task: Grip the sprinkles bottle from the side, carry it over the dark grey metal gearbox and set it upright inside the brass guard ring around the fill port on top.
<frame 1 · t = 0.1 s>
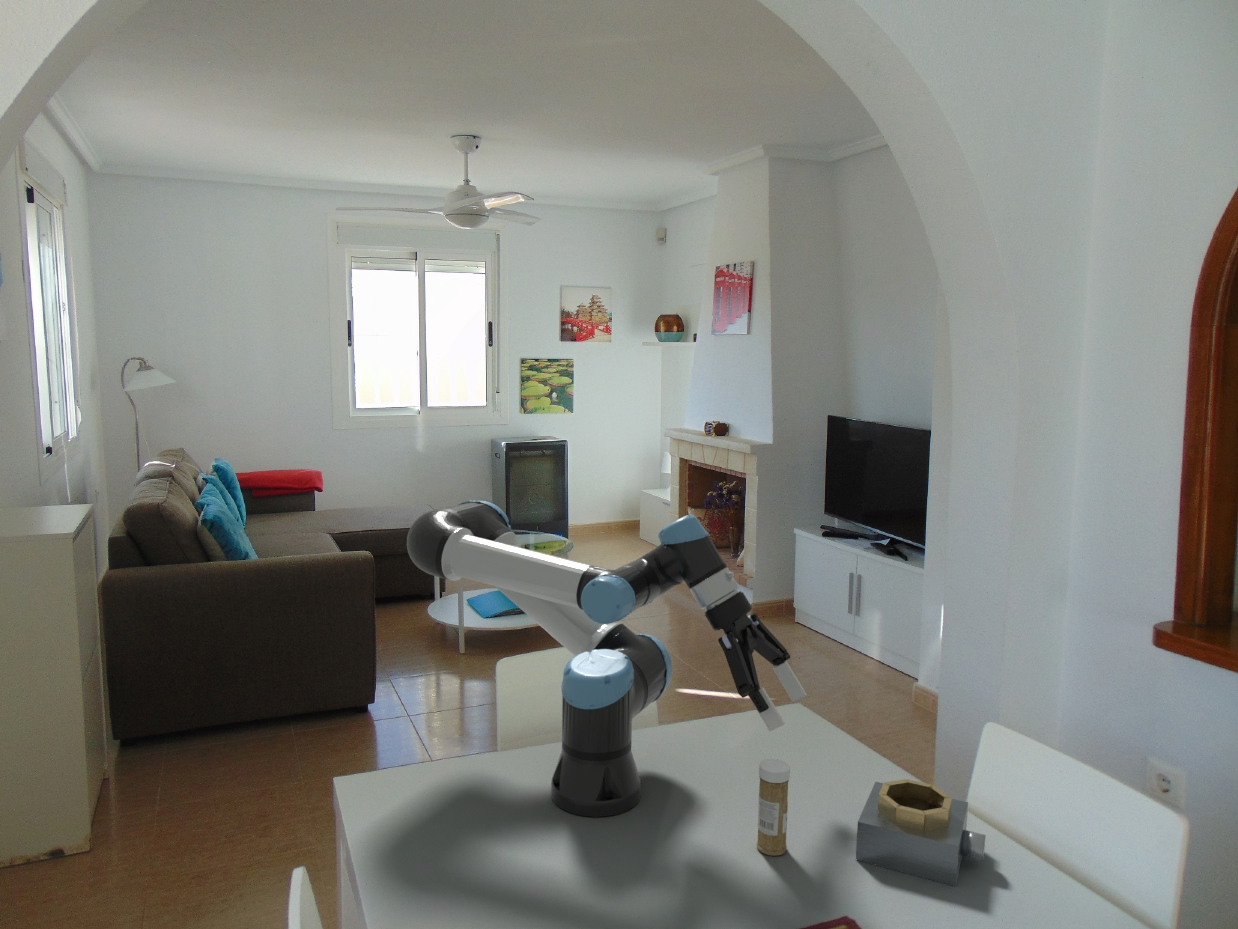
hand: (789, 712, 147), 15 cm above the table, tool tilted 35°, fingers open, 13 cm apart
sprinkles bottle: (771, 849, 134), on the table
gearbox: (911, 849, 134), on the table
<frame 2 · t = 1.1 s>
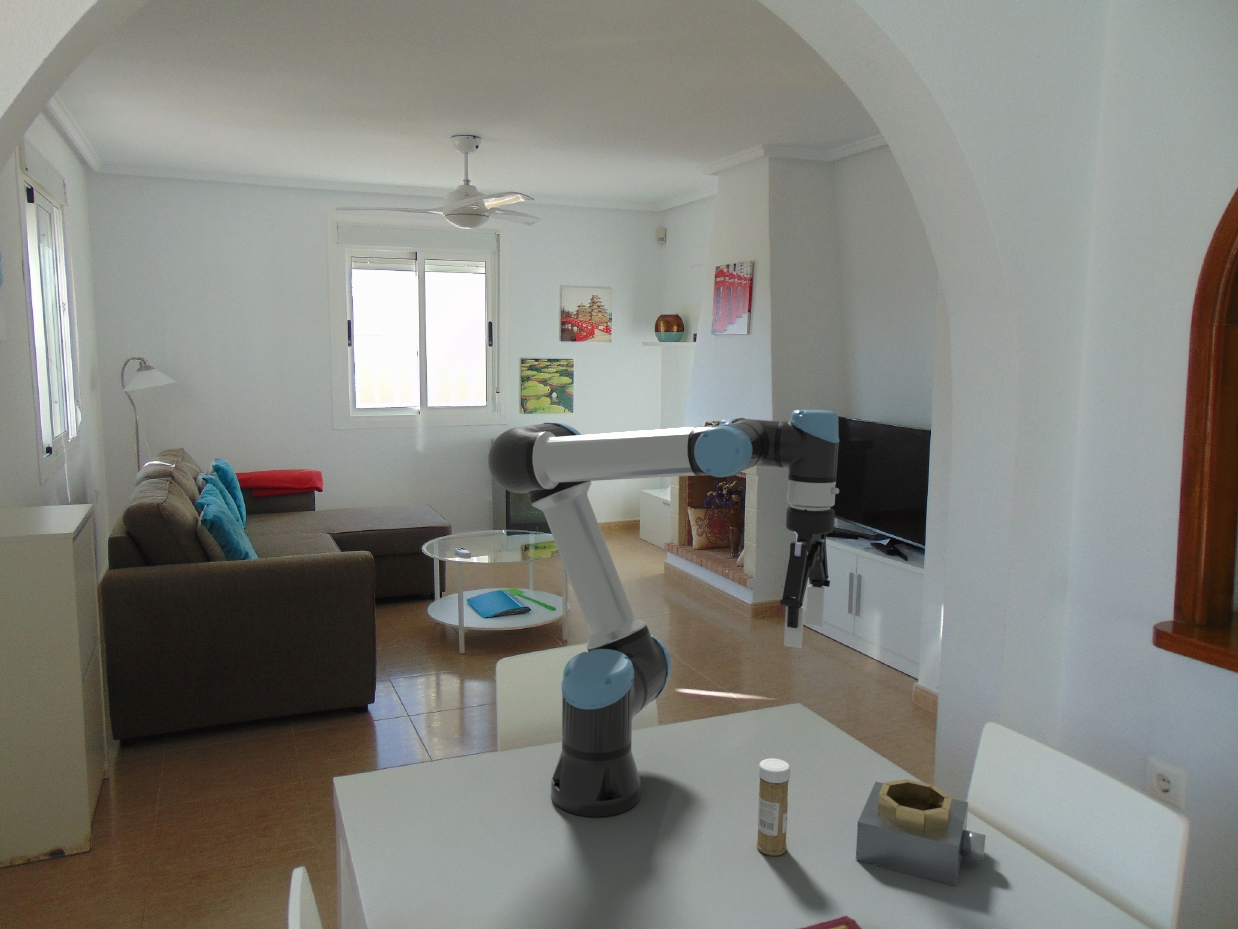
hand: (803, 635, 145), 29 cm above the table, tool pointing down, fingers open, 13 cm apart
nothing on the table moved.
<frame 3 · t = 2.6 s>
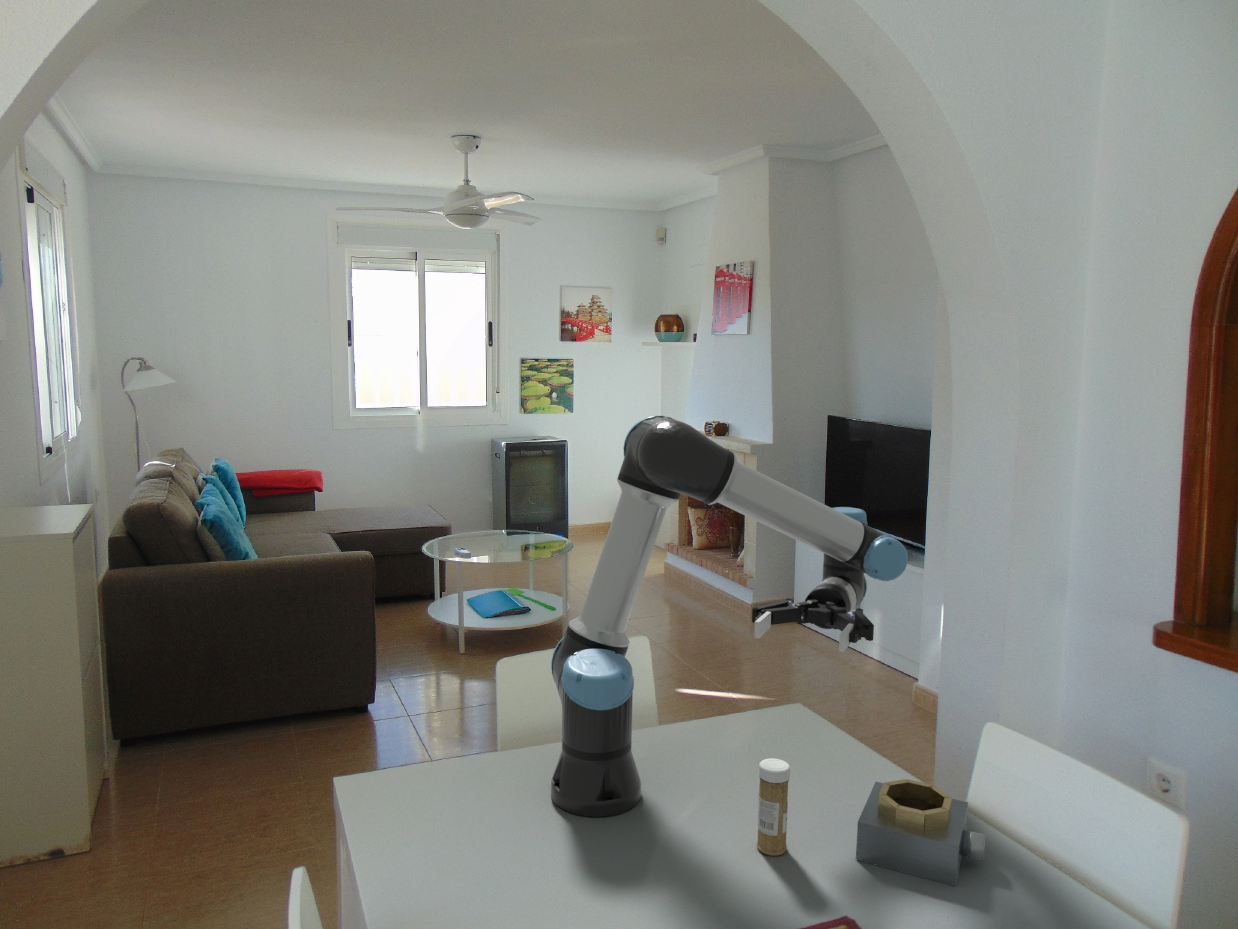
hand: (798, 636, 139), 30 cm above the table, tool horizontal, fingers open, 13 cm apart
nothing on the table moved.
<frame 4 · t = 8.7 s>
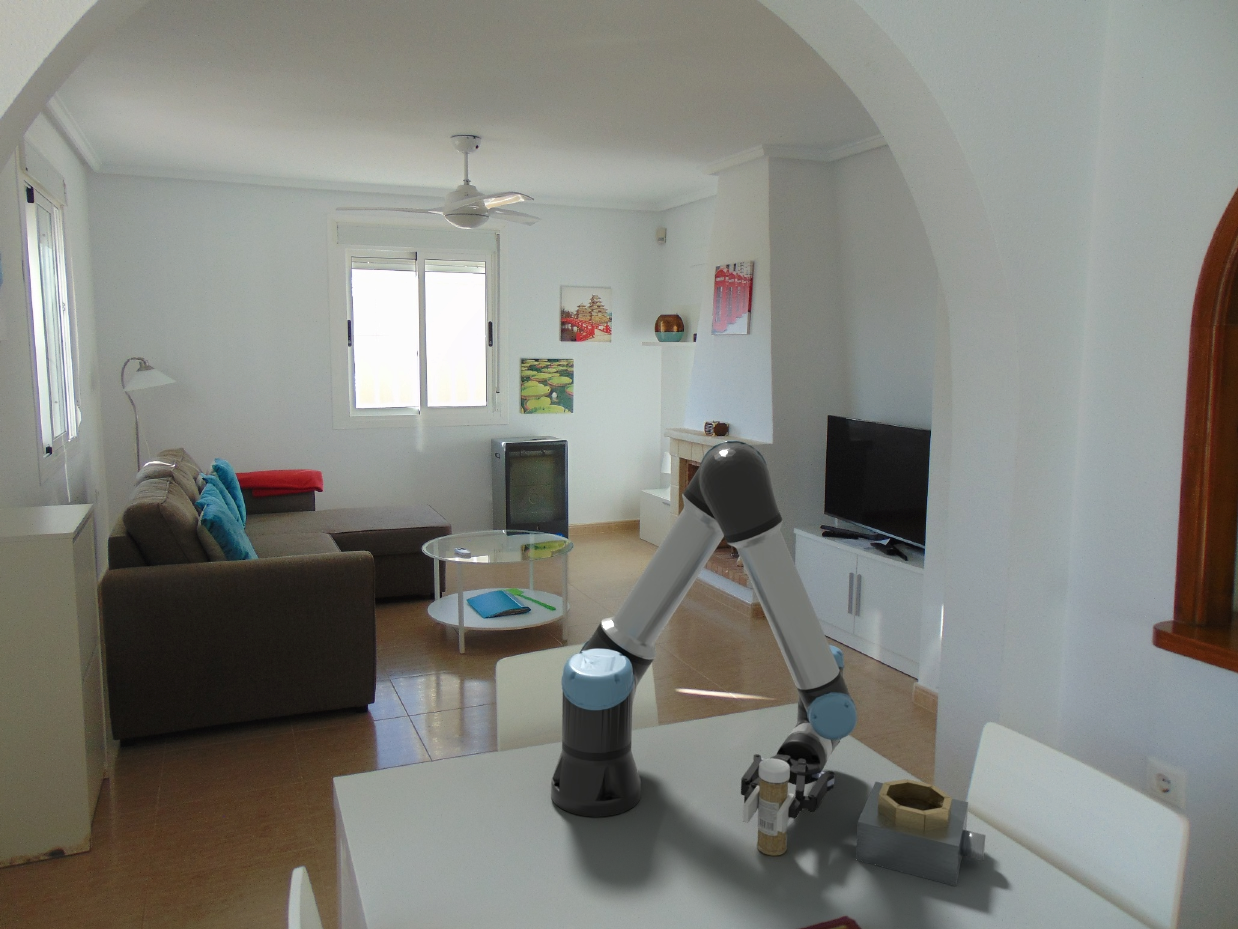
hand: (762, 818, 128), 8 cm above the table, tool horizontal, fingers closed on sprinkles bottle, 4 cm apart
sprinkles bottle: (771, 849, 134), on the table, touching gripper
when the fingers open (15 cm above the table, at t = 14.1 s): sprinkles bottle drops 1 cm, resting on gearbox.
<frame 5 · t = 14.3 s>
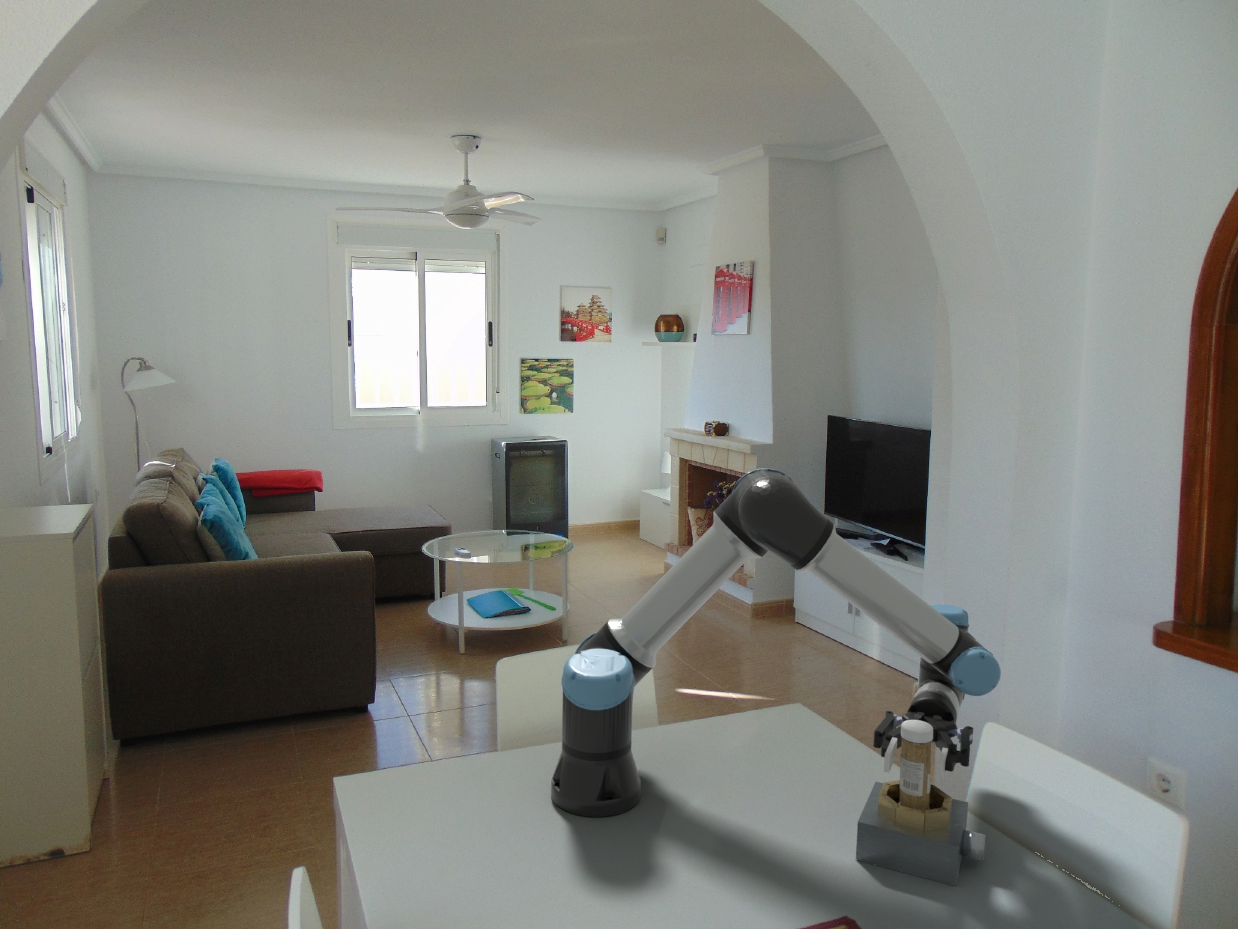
hand: (912, 768, 128), 15 cm above the table, tool horizontal, fingers open, 7 cm apart
sprinkles bottle: (913, 811, 134), point 6 cm above the table, touching gearbox
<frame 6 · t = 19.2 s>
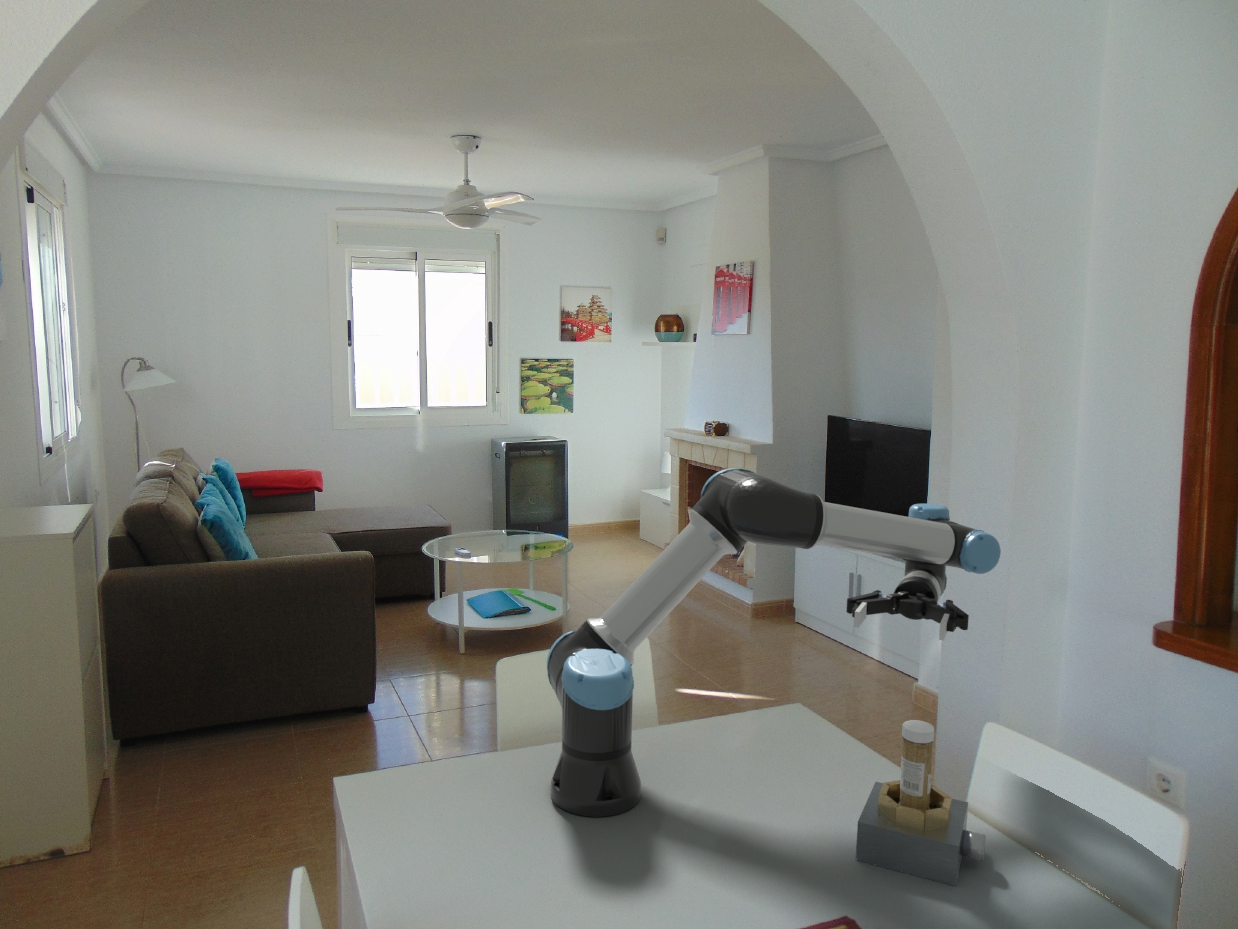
hand: (898, 625, 146), 30 cm above the table, tool horizontal, fingers open, 13 cm apart
nothing on the table moved.
at the end: sprinkles bottle 0.1 cm off-centre on the gearbox, point 6.0 cm above the gearbox's base; sprinkles bottle tilted 0°; the gripper is holding nothing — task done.
